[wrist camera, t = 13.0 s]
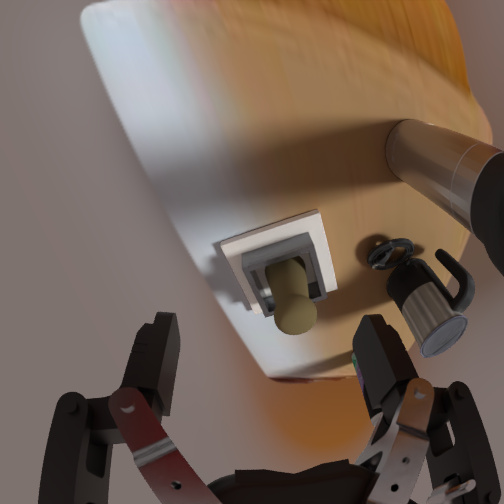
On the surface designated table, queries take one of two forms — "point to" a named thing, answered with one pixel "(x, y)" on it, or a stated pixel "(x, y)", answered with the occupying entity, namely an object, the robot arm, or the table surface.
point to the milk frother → (426, 295)
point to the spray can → (366, 394)
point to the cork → (291, 296)
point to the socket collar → (278, 254)
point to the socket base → (275, 234)
